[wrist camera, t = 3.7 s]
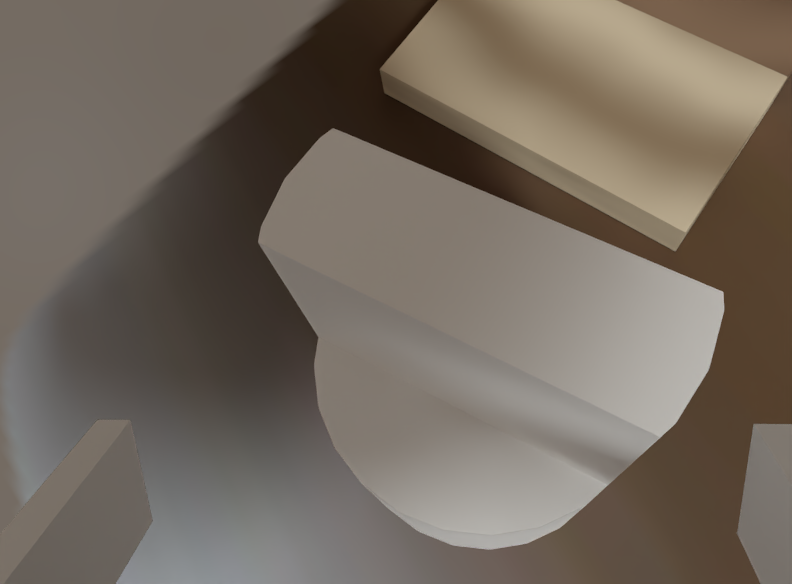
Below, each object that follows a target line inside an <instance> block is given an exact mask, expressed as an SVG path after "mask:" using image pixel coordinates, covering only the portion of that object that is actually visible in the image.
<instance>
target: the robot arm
mask: <svg viewBox="0 0 792 584" xmlns="http://www.w3.org/2000/svg"><path fill="white" fill-rule="evenodd" d="M152 521H153V520H152V515H151V511H150V506H149V502H148V497H147V493H146V488H145V483H144V479H143V474H142V470H141V465H140V461H139V456H138V452H137V447H136V442H135V438H134V433H133V429H132V424H131V420H97V421H96V422H95V423H94V424H93V426H92V427H91V428H90V429H89V430H88V431H87V433H86V434H85V435H84V436H83V437H82V439H81V440H80V441H79V442H78V443H77V444H76V446H75V447H74V448H73V449H72V450H71V451H70V453H69V454H68V455H67V456H66V457H65V459H64V460H63V461H62V462H61V463H60V464H59V466H58V467H57V468H56V469H55V470H54V471H53V473H52V474H51V475H50V476H49V477H48V479H47V480H46V481H45V482H44V483H43V484H42V486H41V487H40V488H39V489H38V490H37V491H36V493H35V494H34V495H33V496H32V497H31V499H30V500H29V501H28V502H27V503H26V504H25V506H24V507H23V508H22V509H21V510H20V511H19V513H18V514H17V515H16V516H15V517H14V519H13V520H12V521H11V522H10V523H9V525H8V526H7V527H6V528H5V529H4V530H3V532H2V533H1V534H0V584H116V582H117V580H118V579H119V577H120V575H121V574H122V572H123V570H124V569H125V567H126V565H127V563H128V562H129V560H130V558H131V557H132V555H133V553H134V552H135V550H136V548H137V547H138V545H139V543H140V541H141V540H142V538H143V536H144V535H145V533H146V531H147V530H148V528H149V526H150V525H151V523H152ZM737 534H738V536H739V538H740V540H741V543H742V545H743V547H744V549H745V551H746V553H747V555H748V558H749V560H750V562H751V564H752V566H753V568H754V570H755V572H756V575H757V577H758V579H759V581H760V583H761V584H792V424H754V425H753V432H752V439H751V445H750V452H749V459H748V465H747V472H746V479H745V485H744V492H743V499H742V506H741V512H740V519H739V526H738V532H737Z"/></svg>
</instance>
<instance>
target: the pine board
mask: <svg viewBox="0 0 792 584" xmlns="http://www.w3.org/2000/svg"><path fill="white" fill-rule="evenodd" d="M380 74H381V79H382V84H383V89H384V93H385V94H387V95H389V96H391V97H393V98H394V99H396V100H398V101H400V102H402V103H404V104H405V105H407V106H409V107H411V108H413V109H415V110H416V111H418V112H420V113H422V114H424V115H426V116H427V117H429V118H431V119H433V120H435V121H437V122H439V123H440V124H442V125H444V126H446V127H448V128H450V129H451V130H453V131H455V132H457V133H459V134H461V135H462V136H464V137H466V138H468V139H470V140H472V141H473V142H475V143H477V144H479V145H481V146H483V147H484V148H486V149H488V150H490V151H492V152H494V153H495V154H497V155H499V156H501V157H503V158H505V159H506V160H508V161H510V162H512V163H514V164H516V165H517V166H519V167H521V168H523V169H525V170H527V171H529V172H530V173H532V174H534V175H536V176H538V177H540V178H541V179H543V180H545V181H547V182H549V183H551V184H552V185H554V186H556V187H558V188H560V189H562V190H563V191H565V192H567V193H569V194H571V195H573V196H574V197H576V198H578V199H580V200H582V201H584V202H585V203H587V204H589V205H591V206H593V207H595V208H596V209H598V210H600V211H602V212H604V213H606V214H607V215H609V216H611V217H613V218H615V219H617V220H619V221H620V222H622V223H624V224H626V225H628V226H630V227H631V228H633V229H635V230H637V231H639V232H641V233H642V234H644V235H646V236H648V237H650V238H652V239H653V240H655V241H657V242H659V243H661V244H663V245H664V246H666V247H668V248H670V249H672V250H674V251H676V250H677V248H678V247H679V245H680V244H681V242H682V241H683V239H684V238H685V236H686V234H687V233H688V231H689V230H690V228H691V227H692V225H693V224H694V222H695V221H696V219H697V218H698V216H699V215H700V213H701V212H702V210H703V208H704V207H705V205H706V204H707V202H708V201H709V199H710V198H711V196H712V195H713V193H714V192H715V190H716V189H717V187H718V186H719V184H720V182H721V181H722V179H723V178H724V176H725V175H726V173H727V172H728V170H729V169H730V167H731V166H732V164H733V163H734V161H735V160H736V158H737V157H738V155H739V153H740V152H741V150H742V149H743V147H744V146H745V144H746V143H747V141H748V140H749V138H750V137H751V135H752V134H753V132H754V131H755V129H756V127H757V126H758V124H759V123H760V121H761V120H762V118H763V117H764V115H765V114H766V112H767V111H768V109H769V108H770V106H771V105H772V103H773V101H774V100H775V98H776V97H777V95H778V94H779V92H780V91H781V89H782V88H783V86H784V85H785V83H786V82H787V80H788V79H789V77H790V75H791V74H792V0H438V1H437V2H436V3H435V4H434V6H433V7H432V8H431V9H430V10H429V12H428V13H427V14H426V15H425V16H424V17H423V19H422V20H421V21H420V22H419V23H418V25H417V26H416V27H415V28H414V29H413V30H412V32H411V33H410V34H409V35H408V36H407V38H406V39H405V40H404V41H403V42H402V43H401V45H400V46H399V47H398V48H397V49H396V51H395V52H394V53H393V54H392V55H391V56H390V58H389V59H388V60H387V61H386V62H385V64H384V65H383V66H382V67H381V68H380Z"/></svg>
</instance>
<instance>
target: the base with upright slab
mask: <svg viewBox="0 0 792 584" xmlns="http://www.w3.org/2000/svg"><path fill="white" fill-rule="evenodd" d="M258 243H259V245H260V247H261V248H262V250H263V251H264V253H265V254H266V256H267V257H268V259H269V261H270V262H271V264H272V265H273V267H274V268H275V270H276V272H277V273H278V275H279V276H280V278H281V279H282V281H283V283H284V284H285V286H286V287H287V289H288V290H289V292H290V293H291V295H292V297H293V298H294V300H295V301H296V303H297V304H298V306H299V308H300V309H301V311H302V312H303V314H304V315H305V317H306V319H307V320H308V322H309V323H310V325H311V326H312V328H313V329H314V331H315V333H316V334H317V336H318V343H317V349H316V355H315V361H314V371H315V380H316V390H317V399H318V408H319V410H320V413H321V415H322V418H323V420H324V423H325V425H326V428H327V430H328V433H329V435H330V438H331V440H332V443H333V445H334V448H335V449H336V451H337V452H338V453H339V454H340V456H341V457H342V458H343V460H344V461H345V462H346V464H347V465H348V466H349V468H350V469H351V470H352V472H353V473H354V474H355V476H356V477H357V478H358V479H359V481H360V482H361V483H362V484H363V485H364V486H365V487H366V488H367V489H368V490H369V491H370V492H371V493H372V494H373V495H374V496H376V497H377V498H378V499H379V500H380V501H381V502H382V503H383V504H384V505H385V506H386V507H387V508H388V509H390V510H391V511H392V512H394V513H395V514H396V515H397V516H399V517H400V518H401V519H403V520H404V521H405V522H407V523H408V524H409V525H411V526H412V527H413V528H415V529H416V530H417V531H418V532H421V533H423V534H426V535H428V536H431V537H433V538H436V539H438V540H441V541H443V542H446V543H448V544H451V545H454V546H463V547H471V548H480V549H489V550H490V549H497V548H503V547H509V546H515V545H521V544H527V543H529V542H531V541H533V540H535V539H537V538H540V537H542V536H544V535H546V534H548V533H550V532H552V531H554V530H557V529H559V528H561V527H562V526H563V525H564V524H565V523H566V522H567V521H568V520H570V519H571V518H572V517H573V516H574V515H575V514H576V513H578V512H579V511H580V510H581V509H582V508H583V507H584V506H585V505H587V504H588V503H589V502H590V501H591V500H592V499H593V498H594V497H595V496H597V495H598V494H599V493H600V492H601V491H602V490H603V489H604V488H605V487H606V486H608V485H609V484H610V483H611V482H612V481H613V480H614V479H615V478H616V477H617V476H619V475H620V474H621V473H622V472H623V471H624V470H625V469H626V468H627V467H628V466H629V465H631V464H632V463H633V462H634V461H635V460H636V459H637V458H638V457H639V456H640V455H642V454H643V453H644V452H645V451H646V450H647V449H648V448H649V447H650V446H651V445H653V444H654V443H655V442H656V441H657V440H658V439H659V438H660V437H661V436H662V435H664V434H665V433H666V432H667V431H668V430H669V429H670V428H671V427H672V426H673V425H675V423H676V422H677V420H678V419H679V417H680V415H681V414H682V412H683V411H684V409H685V407H686V406H687V404H688V403H689V401H690V399H691V398H692V396H693V394H694V393H695V391H696V390H697V388H698V386H699V385H700V383H701V382H702V380H703V378H704V377H705V375H706V373H707V372H708V370H709V367H710V363H711V359H712V356H713V352H714V348H715V344H716V340H717V336H718V332H719V329H720V325H721V321H722V317H723V313H724V296H723V292H722V291H720V290H717V289H715V288H712V287H710V286H708V285H705V284H703V283H701V282H698V281H696V280H693V279H691V278H689V277H686V276H684V275H682V274H679V273H677V272H674V271H672V270H670V269H667V268H665V267H663V266H660V265H658V264H655V263H653V262H651V261H648V260H646V259H644V258H641V257H639V256H636V255H634V254H632V253H629V252H627V251H624V250H622V249H620V248H617V247H615V246H613V245H610V244H608V243H605V242H603V241H601V240H598V239H596V238H594V237H591V236H589V235H586V234H584V233H582V232H579V231H577V230H575V229H572V228H570V227H567V226H565V225H563V224H560V223H558V222H556V221H553V220H551V219H548V218H546V217H544V216H541V215H539V214H536V213H534V212H532V211H529V210H527V209H525V208H522V207H520V206H517V205H515V204H513V203H510V202H508V201H506V200H503V199H501V198H498V197H496V196H494V195H491V194H489V193H487V192H484V191H482V190H479V189H477V188H475V187H472V186H470V185H467V184H465V183H463V182H460V181H458V180H456V179H453V178H451V177H448V176H446V175H444V174H441V173H439V172H437V171H434V170H432V169H429V168H427V167H425V166H422V165H420V164H418V163H415V162H413V161H410V160H408V159H406V158H403V157H401V156H399V155H396V154H394V153H391V152H389V151H387V150H384V149H382V148H379V147H377V146H375V145H372V144H370V143H368V142H365V141H363V140H360V139H358V138H356V137H353V136H351V135H349V134H346V133H344V132H341V131H339V130H337V129H334V128H333V129H331V130H330V131H328V132H327V133H326V134H324V135H323V136H322V137H320V138H319V139H318V140H317V142H316V143H315V144H314V145H313V146H312V147H311V149H310V150H309V151H308V152H307V153H306V154H305V156H304V157H303V158H302V159H301V160H300V161H299V163H298V164H297V165H296V166H295V167H294V168H293V170H292V171H291V172H290V173H289V174H288V175H287V177H286V178H285V179H284V181H283V183H282V185H281V187H280V189H279V191H278V193H277V195H276V197H275V199H274V201H273V203H272V205H271V207H270V209H269V211H268V213H267V215H266V217H265V219H264V221H263V224H262V226H261V229H260V234H259V239H258Z"/></svg>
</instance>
